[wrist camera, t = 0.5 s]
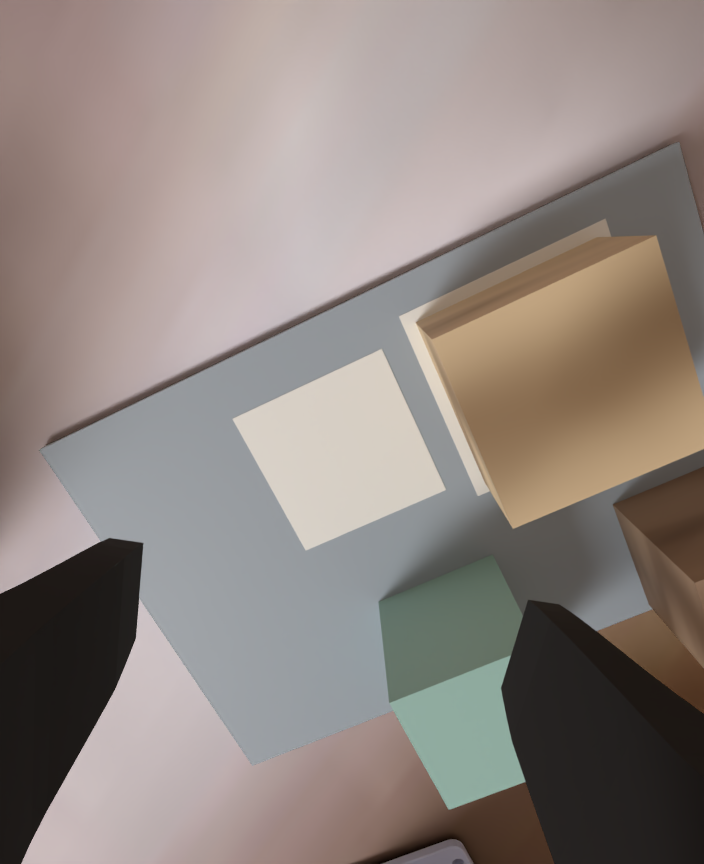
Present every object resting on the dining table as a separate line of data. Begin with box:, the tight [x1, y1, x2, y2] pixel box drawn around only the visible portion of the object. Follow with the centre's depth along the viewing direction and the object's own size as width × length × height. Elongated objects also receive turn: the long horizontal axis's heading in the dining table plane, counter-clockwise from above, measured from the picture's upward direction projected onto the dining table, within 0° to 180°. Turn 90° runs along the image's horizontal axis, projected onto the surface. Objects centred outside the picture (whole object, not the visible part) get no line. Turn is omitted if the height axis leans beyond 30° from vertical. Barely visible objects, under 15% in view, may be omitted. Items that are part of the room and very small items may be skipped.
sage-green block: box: [378, 554, 526, 810], centre depth 20 cm, size 4×4×5 cm
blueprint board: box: [39, 142, 704, 766], centre depth 21 cm, size 15×22×1 cm
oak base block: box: [416, 235, 704, 529], centre depth 17 cm, size 6×6×4 cm
